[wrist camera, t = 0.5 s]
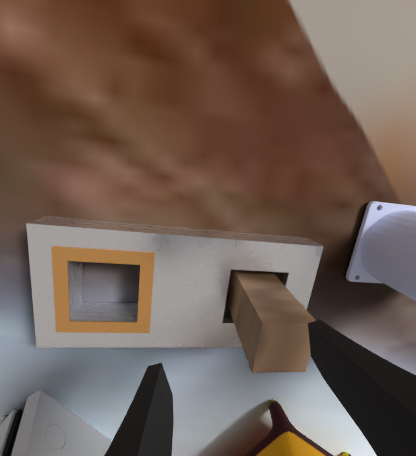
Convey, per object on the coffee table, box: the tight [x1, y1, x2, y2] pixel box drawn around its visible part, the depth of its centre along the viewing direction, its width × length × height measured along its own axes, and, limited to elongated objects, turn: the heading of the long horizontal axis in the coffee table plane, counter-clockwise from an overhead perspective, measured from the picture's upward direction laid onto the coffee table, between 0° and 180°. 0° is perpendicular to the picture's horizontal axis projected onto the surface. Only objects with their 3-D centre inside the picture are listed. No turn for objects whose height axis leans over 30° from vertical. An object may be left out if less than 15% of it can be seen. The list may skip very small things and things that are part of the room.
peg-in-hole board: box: [26, 216, 323, 348], centre depth 19 cm, size 22×10×3 cm, turn 83°
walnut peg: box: [226, 269, 316, 373], centre depth 18 cm, size 4×4×8 cm
